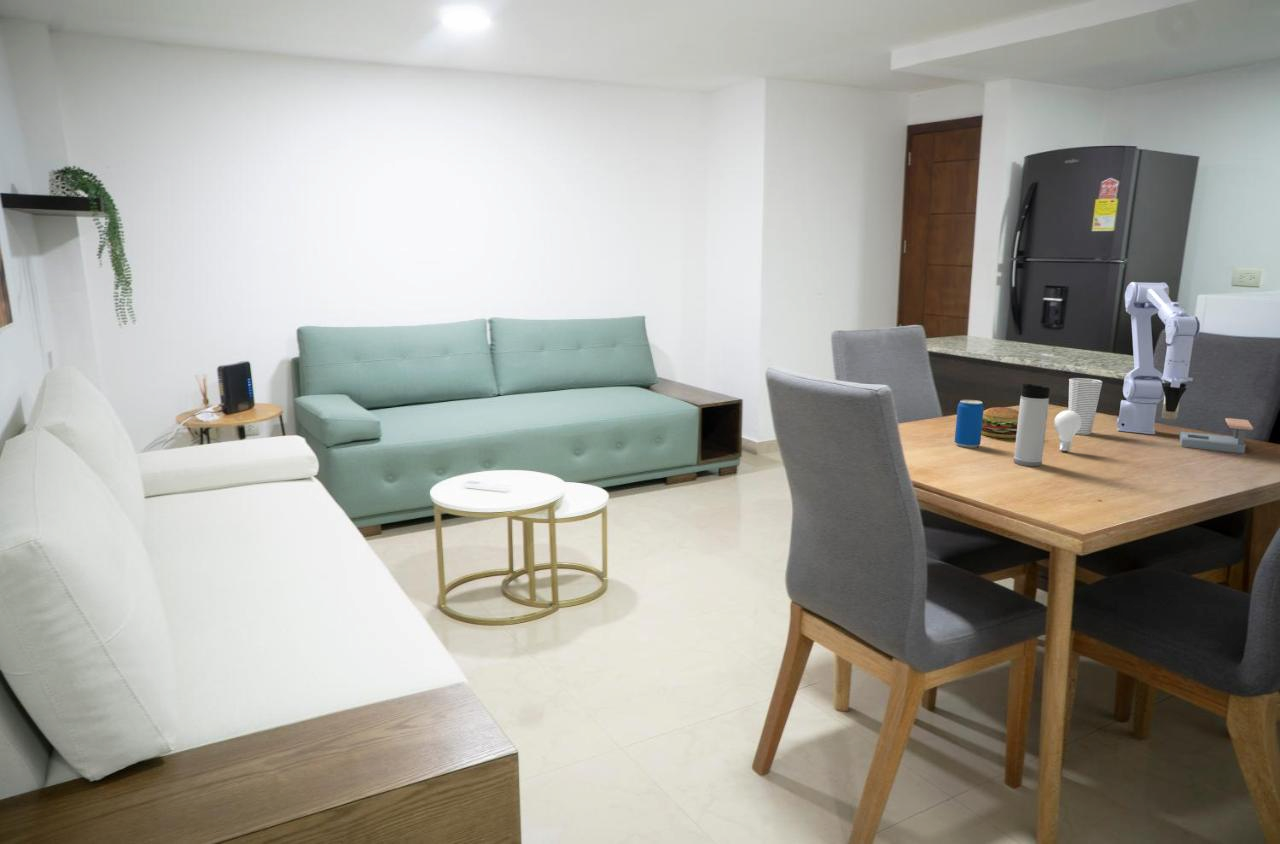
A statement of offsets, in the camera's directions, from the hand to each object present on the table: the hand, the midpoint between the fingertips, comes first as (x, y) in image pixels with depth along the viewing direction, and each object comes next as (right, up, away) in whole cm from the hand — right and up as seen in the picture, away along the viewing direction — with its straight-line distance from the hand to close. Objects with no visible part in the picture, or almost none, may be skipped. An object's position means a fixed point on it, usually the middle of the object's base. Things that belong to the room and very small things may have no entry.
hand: (1170, 410), depth 228 cm
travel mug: (-50, -14, -23) cm, 57 cm away
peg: (0, -2, 0) cm, 2 cm away
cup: (-17, -7, +15) cm, 24 cm away
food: (-42, -7, +10) cm, 44 cm away
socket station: (+11, -10, +1) cm, 15 cm away
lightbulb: (-34, -11, -10) cm, 37 cm away
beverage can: (-57, -10, -4) cm, 58 cm away
